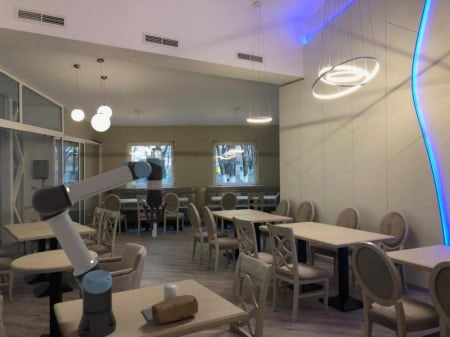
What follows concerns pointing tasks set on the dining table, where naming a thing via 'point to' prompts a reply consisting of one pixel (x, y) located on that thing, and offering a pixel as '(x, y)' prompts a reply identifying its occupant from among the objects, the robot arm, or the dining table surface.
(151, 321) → the mat
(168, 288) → the grey cylinder
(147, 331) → the dining table surface
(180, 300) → the block
